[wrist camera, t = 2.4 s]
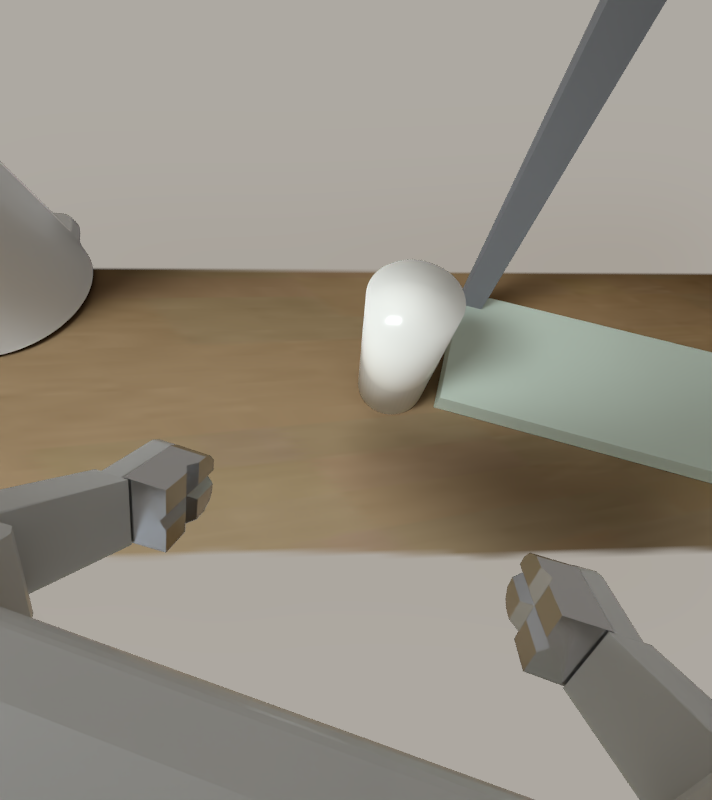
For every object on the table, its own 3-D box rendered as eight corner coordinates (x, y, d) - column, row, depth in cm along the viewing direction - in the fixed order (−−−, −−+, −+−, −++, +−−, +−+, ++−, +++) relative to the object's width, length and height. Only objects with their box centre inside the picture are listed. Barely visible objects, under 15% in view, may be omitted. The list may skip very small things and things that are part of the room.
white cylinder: (350, 404, 27) (353, 324, 17) (367, 349, 29) (380, 250, 19) (414, 422, 27) (457, 351, 17) (427, 365, 29) (472, 272, 19)
